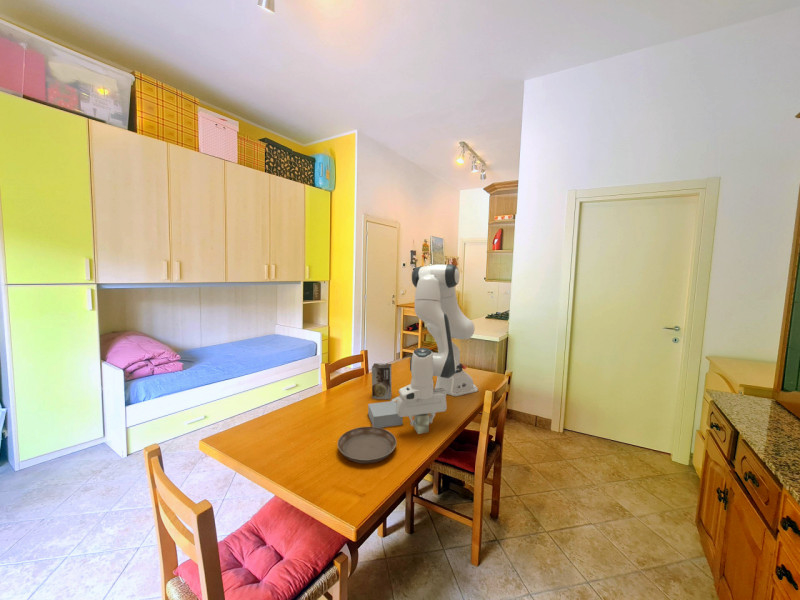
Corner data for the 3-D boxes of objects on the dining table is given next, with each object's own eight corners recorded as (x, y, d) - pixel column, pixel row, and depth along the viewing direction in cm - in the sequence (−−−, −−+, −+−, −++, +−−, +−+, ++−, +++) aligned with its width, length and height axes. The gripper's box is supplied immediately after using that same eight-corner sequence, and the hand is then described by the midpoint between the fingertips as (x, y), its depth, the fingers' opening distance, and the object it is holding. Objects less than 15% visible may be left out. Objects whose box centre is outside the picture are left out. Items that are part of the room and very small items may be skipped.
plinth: (394, 411, 139) (394, 400, 139) (402, 424, 128) (402, 413, 127) (368, 414, 136) (368, 403, 136) (373, 428, 125) (373, 416, 124)
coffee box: (391, 394, 158) (392, 363, 156) (390, 400, 151) (390, 367, 150) (374, 393, 159) (374, 362, 157) (371, 399, 152) (371, 367, 151)
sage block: (424, 426, 127) (424, 410, 126) (428, 432, 122) (429, 415, 122) (414, 428, 125) (414, 411, 125) (417, 433, 121) (418, 416, 120)
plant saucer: (402, 438, 119) (402, 429, 118) (387, 473, 99) (387, 463, 98) (351, 431, 123) (350, 423, 123) (327, 463, 103) (327, 453, 103)
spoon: (403, 400, 152) (403, 397, 152) (377, 417, 135) (377, 413, 135) (396, 398, 154) (396, 395, 154) (369, 414, 137) (369, 411, 137)
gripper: (443, 384, 128) (442, 416, 130) (395, 389, 122) (394, 423, 124) (449, 390, 122) (448, 424, 124) (399, 396, 116) (399, 431, 118)
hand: (421, 423), depth 124 cm, fingers open, 6 cm apart
